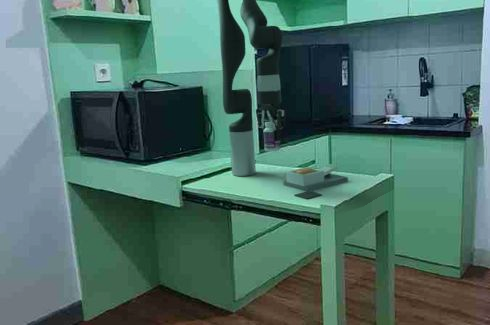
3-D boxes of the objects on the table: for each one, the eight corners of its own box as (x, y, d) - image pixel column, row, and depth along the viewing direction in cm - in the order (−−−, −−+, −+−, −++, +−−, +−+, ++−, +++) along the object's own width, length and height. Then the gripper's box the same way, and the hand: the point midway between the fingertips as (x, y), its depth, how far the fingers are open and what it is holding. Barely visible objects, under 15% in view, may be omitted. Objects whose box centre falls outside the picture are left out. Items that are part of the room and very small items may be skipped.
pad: (294, 195, 141) (294, 194, 141) (309, 191, 145) (309, 190, 144) (307, 199, 136) (307, 198, 136) (321, 195, 140) (321, 194, 139)
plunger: (292, 176, 153) (292, 170, 153) (306, 173, 156) (305, 167, 156) (304, 179, 148) (303, 172, 148) (317, 176, 151) (317, 169, 151)
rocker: (313, 175, 157) (313, 171, 157) (330, 167, 161) (329, 163, 160) (321, 177, 154) (321, 173, 153) (338, 168, 157) (337, 164, 157)
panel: (283, 185, 156) (282, 171, 155) (321, 175, 165) (321, 162, 164) (308, 191, 145) (307, 176, 144) (347, 181, 154) (347, 167, 153)
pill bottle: (279, 151, 148) (277, 122, 146) (263, 152, 149) (261, 123, 147) (281, 148, 153) (279, 120, 151) (265, 149, 154) (264, 121, 152)
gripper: (247, 90, 151) (250, 139, 154) (272, 90, 139) (276, 144, 142) (265, 88, 155) (268, 136, 158) (291, 88, 143) (294, 140, 146)
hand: (272, 139), depth 150 cm, fingers closed on pill bottle, 5 cm apart
